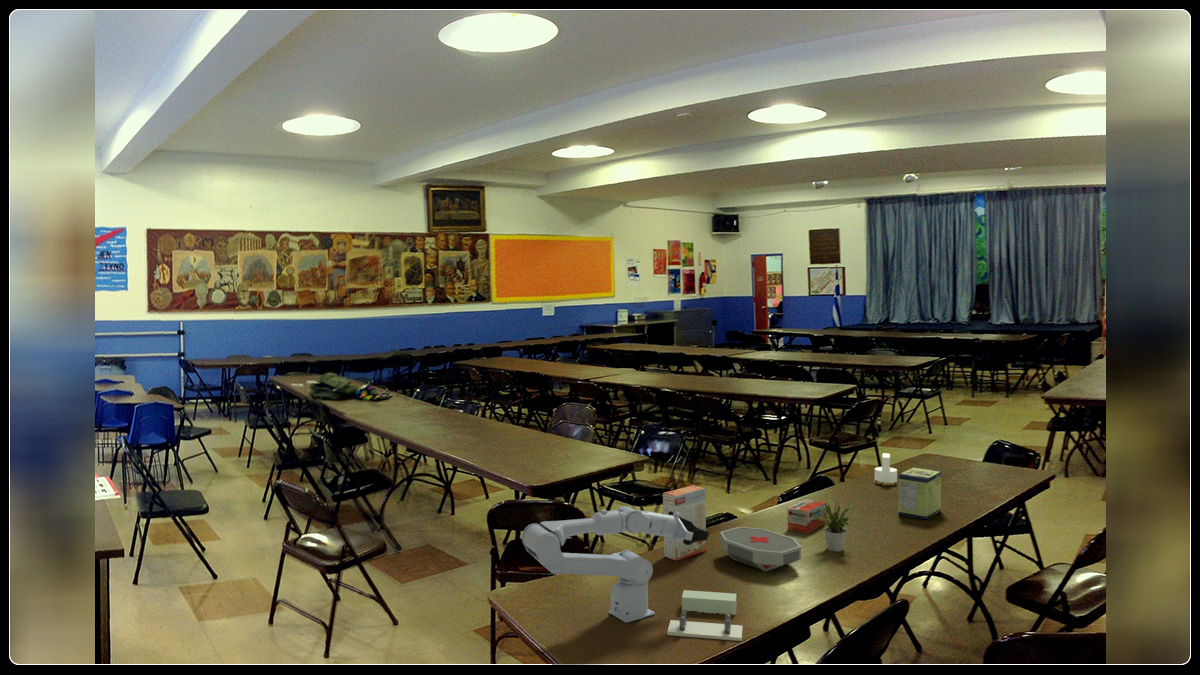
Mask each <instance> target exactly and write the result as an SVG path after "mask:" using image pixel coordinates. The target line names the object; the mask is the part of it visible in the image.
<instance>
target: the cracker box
mask: <svg viewBox="0 0 1200 675" xmlns="http://www.w3.org/2000/svg"><path fill="white" fill-rule="evenodd" d="M662 510H663V512H662V514H666V515H668V513H669V512H670V511H672V512H678V513H679V514H680V515H679V517H681V518H683V519H686V520H688V521H690V522H692V523H693V525H694V526H696V527H697V528H699V529H702V530H705V531H707V528H706V527H707V526H706V524H707V523H706V522H707V521H706V520H707V519H706V517H707V515H706V513H707V512H706V511H707V510H706V488H705V487H702V486H698V485H694V484H693V485H689V486H688V485H687V486H686V487H681V488H678V489H674V490H669V491H665V492H663V493H662ZM683 540H684V539H673V538H669V537H665V536H663V557H664V558H666V557H667V558H666V559H669V560H672V561H675V562H677V560H678V561H681V560H684V559H686V558H690V557H692V556H695V555H698V554H701V553H705V552H706V551H707V540H703V541H697V542H694V543H692V544H691V545H686V544H684V543H683Z"/></svg>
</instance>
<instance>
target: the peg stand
mask: <svg viewBox="0 0 1200 675" xmlns="http://www.w3.org/2000/svg"><path fill="white" fill-rule="evenodd" d="M743 628H744V627H743V625H739V624H732V615H730V614H724V623H716V622H715V623H714V622H713V623H712V622H702V621H700V622H699V621H687V611H682V610H681V611H680V615H679V620H675V619H670V622H669V625H668V628H667V630H666V631H667V632H666V634H667V636H673V635H674V637H675V636H676V637H677V636H678V637H689V638H701V639H713V640H726V641H735V642H737V641H738V642H742V641H743V640H742V639H743Z"/></svg>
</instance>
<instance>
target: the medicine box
mask: <svg viewBox="0 0 1200 675" xmlns="http://www.w3.org/2000/svg"><path fill="white" fill-rule="evenodd" d="M812 501H813V502H812ZM816 502H817V503H816ZM824 502H825V503H826V504H827V501H818V500H814V499H807V498H805V499H803V500H801V501H799V502H797V503H795V504H792V505H791V506H789V507H787V530H788V531H789V530H790V531H796V532H799V533H806V534H809V533H811V532H814V531H815V530H817V529H818V528H821V527H823V526H825V522H826V521H825V522H824V521H823V519H820V518H818V517H820V516H822V517H824V518H825V519H826V520H827V518H826V516H827V514H826V513H827V512H826V511H824V510H823V508H825V509H826V507H825V505H824V504H825V503H824ZM819 504H820V505H821V506H822V507H823V508H822V507H821V506H820V505H819ZM820 510H822V511H823V512H824V513H825V514H826V516H825V515H824V514H823V512H822V511H820Z"/></svg>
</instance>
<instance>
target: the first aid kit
mask: <svg viewBox="0 0 1200 675" xmlns="http://www.w3.org/2000/svg"><path fill="white" fill-rule="evenodd" d="M719 545H720V546H721V548H722V549H723V551H724V553H726V554H727V555H728V556H729V557H730V558H731V559H732V560H733V561H734V562H735V561H736V562H740V563H741V564H745V565H748V566H750V567H753V568H756V569H758V570H761V571H763V572H765V573H766V572H768V571H769V572H770V571H771V570H775V569H777V568H781V567H784V566H788V565H789V564H792V563H795V562H798V561H800V560H801V559H802V546H801V545H800V544H799V542H798V541H797V540H796V539H795V537H794V538H793V537H791V536H787V535H784V534H781V533H777V532H774V531H771V530H767V529H764V528H759V527H756V528H755V527H746V526H737V527H734V528H730V529H726V530H722V531H720V532H719Z"/></svg>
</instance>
